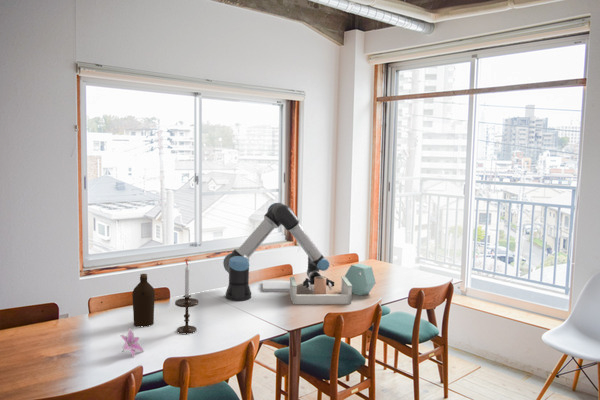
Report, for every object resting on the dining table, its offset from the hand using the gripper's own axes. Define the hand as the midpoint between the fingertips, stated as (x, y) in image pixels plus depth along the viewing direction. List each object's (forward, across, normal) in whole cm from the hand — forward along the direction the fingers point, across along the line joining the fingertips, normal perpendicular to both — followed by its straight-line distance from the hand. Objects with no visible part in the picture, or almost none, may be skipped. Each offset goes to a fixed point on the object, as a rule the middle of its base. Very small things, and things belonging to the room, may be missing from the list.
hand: (320, 287), depth 290 cm
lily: (+73, +92, -8) cm, 118 cm away
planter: (-14, -27, -8) cm, 31 cm away
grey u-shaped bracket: (-2, 0, -8) cm, 8 cm away
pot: (-2, 0, -8) cm, 8 cm away
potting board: (-26, +24, -8) cm, 36 cm away
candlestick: (+47, +72, -8) cm, 86 cm away
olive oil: (+37, +94, -8) cm, 101 cm away
